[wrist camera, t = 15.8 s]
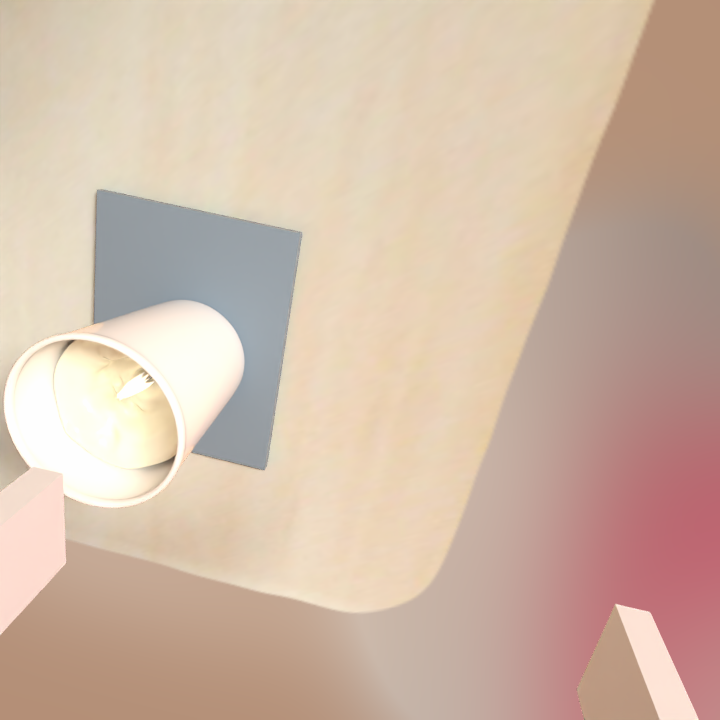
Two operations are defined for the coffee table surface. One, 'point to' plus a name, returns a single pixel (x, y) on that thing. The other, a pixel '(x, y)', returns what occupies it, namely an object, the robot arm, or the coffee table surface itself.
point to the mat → (206, 297)
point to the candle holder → (123, 399)
